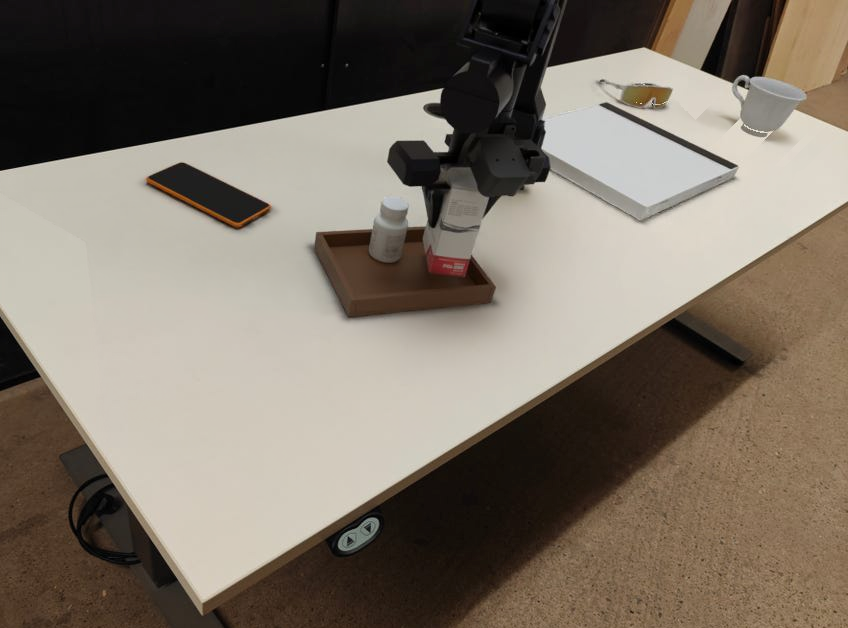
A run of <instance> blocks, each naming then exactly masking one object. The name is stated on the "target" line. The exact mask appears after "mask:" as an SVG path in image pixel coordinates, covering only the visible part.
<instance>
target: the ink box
mask: <svg viewBox="0 0 848 628" xmlns="http://www.w3.org/2000/svg"><path fill="white" fill-rule="evenodd" d="M446 182H447V183H448V185H449V186H450V187H451V190H449V191H448V192H446V193H445V194H444V197H443V201H442V206H441V210H440V214H439V218H438V221H437V224H436V226H435V228H431V227H430V225H429V223H428V219H427V221H426V224H425V226H426V228H425V232H424V235H423V243H424V249H425V254H426V259H427V264H428V270H429V273H434V274H442V275H450V276H459V277H465V274H466V271H467V268H468V264H469V261H470V258H471V255H472V254H473V250H474V248H475V244H476V242H477V239H478V234H479V231H480V228H481V225H482V221H483V220H484V218H483V216H484V212H485V209H486V206H487V203H488V200H489V197H485V196H483V195H481V194H480V192H479V191H478V189H477V183H476V181H475V178H474V176H473V173H472V171H471V169H467V170H449V172H448V173H447V177H446Z"/></svg>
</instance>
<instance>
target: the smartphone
mask: <svg viewBox="0 0 848 628" xmlns="http://www.w3.org/2000/svg"><path fill="white" fill-rule="evenodd" d="M145 180H146V182H147V183H148V184H149V185H151V186H154V187H156V188H158V189H160V190H162V191H163V192H165V193H167V194H169V195H171V196H173V197H175V198H178V199H179V200H181V201H183V202H185V203H187V204H189V205H191V206H193V207H195V208H197V209H199V210H201V211H203V212H205V213H207V214H209V215H210V216H213V217H214V218H216V219H218V220H220V221H223V222H224V223H226V224H228V225H229V226H232V227H233V228H242V227H243V226H245V225H246V224H248V223H250V222H251V221H253V220H255V219H257V218H258V217H260V216H262V215H263V214H265V213H268V212H269V211H270V210H271V209H272V206H271V204H270V203H268V202H266V201H264V200H262V199H260V198H258V197H256V196H254V195H251V194H249V193H247V192H246V191H243V190H242V189H240V188H237V187H235V186H233V185H231V184H229V183H227V182H225V181H223V180H221V179H220V178H217V177H215V176H213V175H211V174H209V173H207V172H205V171H203V170H201V169H199V168H196V167H195V166H193V165H191V164H188V163H187V162H184V161H180V162H178V163H175V164H173V165H170V166H168V167H166V168H164V169H161V170H159V171H156V172H154V173H152V174H150V175H148V176H146V178H145Z"/></svg>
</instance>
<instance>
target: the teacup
mask: <svg viewBox="0 0 848 628" xmlns="http://www.w3.org/2000/svg"><path fill="white" fill-rule="evenodd" d="M741 81H744V83H745V84H744V89H748V90H747V94H746V96H745V98H744V97H743V96H742V95H741V93H740V92H739V90H738V84H739V82H741ZM731 91H732V94H733V96H734V97H735V98H736V99H737V100H738V101H739V103H740V111H739V112H740V113H739V117H740V120H741V122H742V123H743V124H742V125H741V126H740V130H741V131H743V132H744V133H745V134H747V135H750V136H752V137H758V138H766V137H767V136H768V133H769V132H770V133H771V132H774V131H777V130H779V129H780V128H781V127H782V126H783V125H784V124H785V123H786V121H787V120H788V119H789V117H790V116H791V115H792V113H793V112H794V110H796V109H797V107H798V106H799V105H800V103H801V102H803V101H804V100H806V99H807V98H808V96H807V94H806V92H805V91H803V90H802V89H800V88H798V87H796V86H794V85H792V84H790V83H787V82H784V81H782V80H778V79H775V78H771V77H766V76H753V77H751V78H750V77H749V76H748V75H746V74H742V75H739V76H737V77H736V78H735V80H734V81H733V83H732V85H731ZM744 124H745V125H746V126H748V127H749V128H751V129H754V130H758V131H764V132H768V133H760V132H756V131H753V130H750V129H748V128H747V127H745V126H744Z"/></svg>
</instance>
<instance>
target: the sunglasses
mask: <svg viewBox="0 0 848 628" xmlns="http://www.w3.org/2000/svg"><path fill="white" fill-rule="evenodd" d="M599 83H600V84H601V83H603V84H605V85H609V86H612V87H614V88H615V89H617V90H621V94H620V99H619V100H620V102H621V103H624V104H625V105H627V106H630V107H633V108H638V109H643V108H644V107H646V106H647V105H648V104H649V103H650V102H651V107H652V109H654V110H659V109H662V108H663V107H665V105H666V104H667V102H668V101H669V100H670V98H671V95H672V93H673V90H674V88H672V87H670V86H662V85H659V84H656V83H653V82H635V83H634V84H625V85H624V84H620V83H616V82H613V81H609V80H607V79H605V78H602V79H599ZM641 83H643V84H645V85H643V84H641ZM666 101H667V102H666ZM636 102H637V103H636ZM664 102H666V103H664ZM640 103H642V104H640ZM652 103H653V104H654V105H653V104H652ZM662 103H664V104H662ZM645 104H647V105H645ZM655 104H661V105H655Z"/></svg>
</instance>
